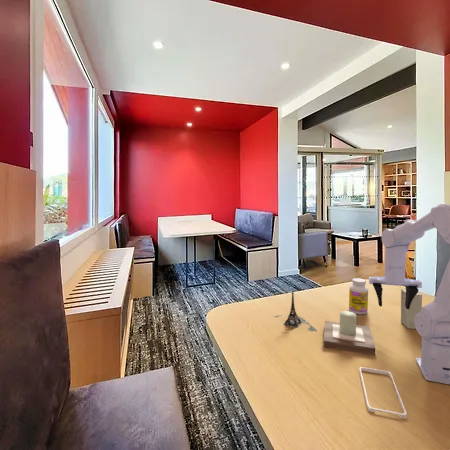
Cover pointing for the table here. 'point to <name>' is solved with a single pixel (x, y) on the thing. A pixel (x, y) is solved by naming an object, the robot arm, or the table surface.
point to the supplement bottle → (358, 296)
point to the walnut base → (349, 339)
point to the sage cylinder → (348, 323)
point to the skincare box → (410, 309)
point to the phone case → (395, 390)
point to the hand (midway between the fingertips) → (393, 306)
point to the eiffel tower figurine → (295, 318)
